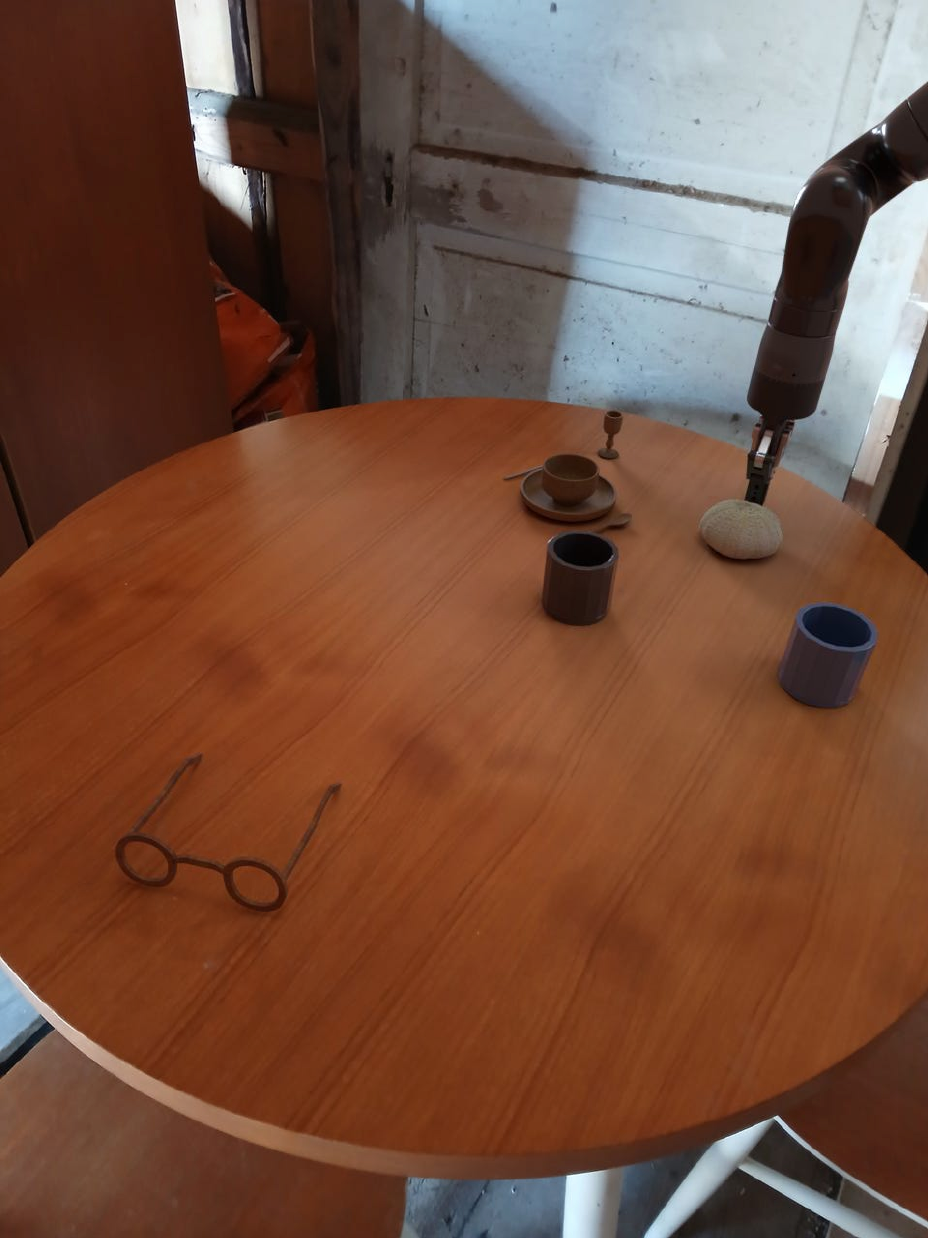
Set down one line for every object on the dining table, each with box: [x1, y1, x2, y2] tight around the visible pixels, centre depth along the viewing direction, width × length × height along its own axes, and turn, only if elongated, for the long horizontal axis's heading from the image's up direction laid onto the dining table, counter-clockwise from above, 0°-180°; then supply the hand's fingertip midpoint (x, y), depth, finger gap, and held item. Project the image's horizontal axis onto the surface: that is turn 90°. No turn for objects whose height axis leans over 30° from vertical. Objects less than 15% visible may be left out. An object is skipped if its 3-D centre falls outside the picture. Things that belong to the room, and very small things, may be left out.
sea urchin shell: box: [698, 498, 784, 560], centre depth 105 cm, size 9×8×8 cm
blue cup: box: [777, 601, 879, 709], centre depth 85 cm, size 7×7×7 cm
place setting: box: [503, 409, 633, 533], centre depth 113 cm, size 18×20×6 cm
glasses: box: [114, 752, 343, 913], centre depth 69 cm, size 13×13×5 cm
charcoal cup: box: [541, 529, 620, 626], centre depth 94 cm, size 7×7×7 cm
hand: (753, 503), depth 108 cm, fingers closed
